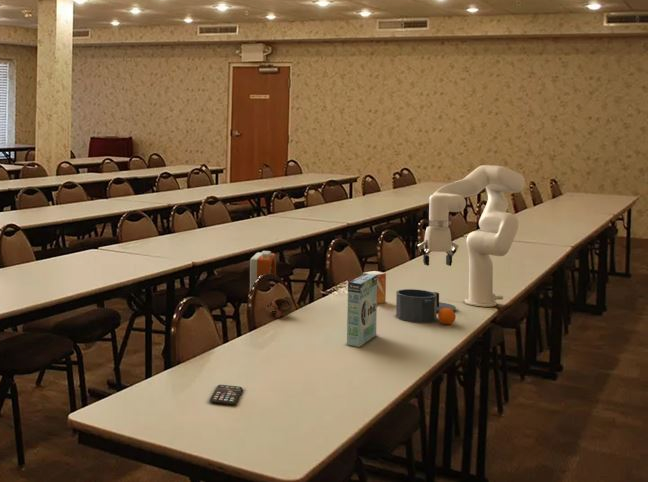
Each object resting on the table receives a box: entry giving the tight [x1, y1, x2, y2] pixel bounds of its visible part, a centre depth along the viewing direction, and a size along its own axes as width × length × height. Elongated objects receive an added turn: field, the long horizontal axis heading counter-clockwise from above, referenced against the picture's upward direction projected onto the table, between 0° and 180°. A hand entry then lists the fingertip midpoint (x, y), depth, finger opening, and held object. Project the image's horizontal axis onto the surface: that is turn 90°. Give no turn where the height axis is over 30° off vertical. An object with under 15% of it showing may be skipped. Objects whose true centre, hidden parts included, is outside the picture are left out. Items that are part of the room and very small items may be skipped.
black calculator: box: [209, 384, 243, 406], centre depth 242 cm, size 7×1×15 cm
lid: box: [432, 291, 457, 313], centre depth 350 cm, size 16×16×7 cm
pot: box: [395, 288, 438, 324], centre depth 334 cm, size 15×21×10 cm
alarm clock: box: [249, 250, 277, 292], centre depth 373 cm, size 18×9×21 cm, turn 160°
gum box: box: [346, 272, 378, 348], centre depth 301 cm, size 20×5×23 cm, turn 144°
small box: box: [362, 270, 387, 305], centre depth 362 cm, size 8×6×13 cm
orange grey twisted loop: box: [270, 297, 293, 319], centre depth 337 cm, size 12×10×8 cm
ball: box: [437, 308, 456, 326], centre depth 324 cm, size 6×6×6 cm
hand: (437, 265), depth 343 cm, fingers open, 9 cm apart
